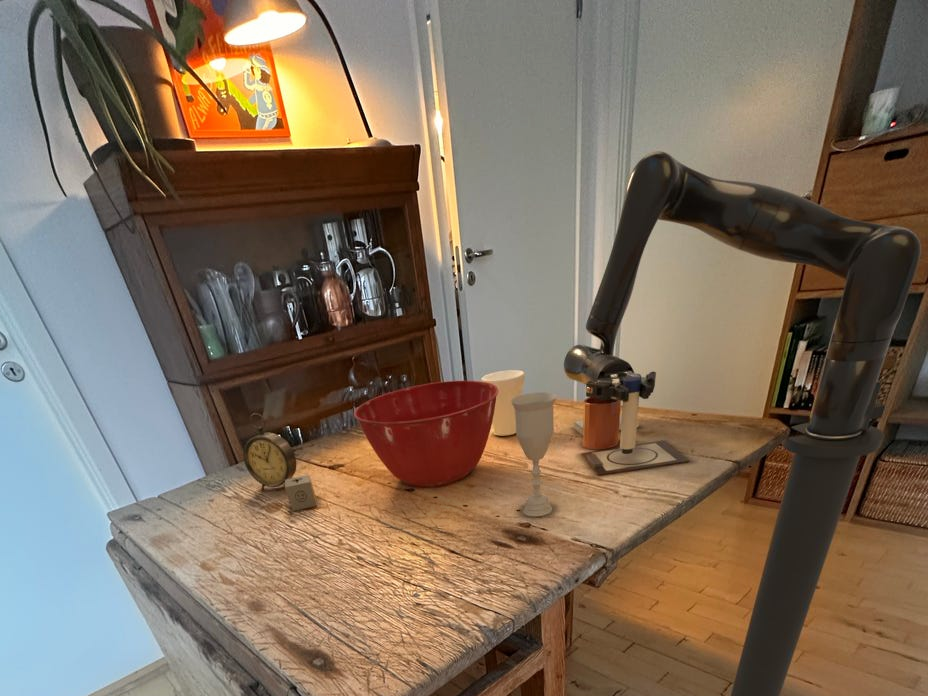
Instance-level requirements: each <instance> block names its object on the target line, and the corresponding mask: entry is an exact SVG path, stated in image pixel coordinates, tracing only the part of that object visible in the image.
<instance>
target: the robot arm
mask: <svg viewBox="0 0 928 696" xmlns="http://www.w3.org/2000/svg"><path fill="white" fill-rule="evenodd" d="M636 163H637V164H636V165H635V166H634V167H633V169H632V171H631V172H630V175H629V177H628V181H627V186H626V190H625V193H624V194H625V195H624V199H623V204H622V209H621V213H620V217H619V221H618V225H617V230H616V233H615V237H614V241H613V245H612V248H611V251H610V254H609V258H608V260H607V263H606V267H605V269H604V273H603V276H602V278H601V281H600V284H599V287H598V290H597V293H596V295H595V298H594V301H593V304H592V306H591V309H590V312H589V315H588V317H587V320H586V323H585V331H586V332H587V333H589V334H590V335H592V336H593V337H595V338H597V339H598V340H599V341H600V346H599V348H596V347H592V346H589V345H585V344H576V345H573V346H572V347H570V349H569V350H568V351H567V353H566V355H565V357H564V360H563V370H564V373H565V375H566V377H567V378H568V379H570V380H572V381H574V382H575V381H576V382H578V383H580V384H581V383H582V384H584V385H585V397H587V398H589V397H592V398H597V399H602V400H606V401H617V400H621V402H622V403H623V402H628V400H629V388H627V387H625V386H623V381H624V379H626V378H630V377H640V378H641V388H640V394H639V398H640V399H643V400H648V399H649V398H650V396H652V394H653V393H654V390H655V387H656V380H657V379H656V377H657V371H656V372H655V371H650V372H649V373H646V375H645V376H642V374H640V373H635V371H634V368H633V366H632V365H631V364H630V363H629V362H628V361H626V360H624V359H622V358H620V357H618V356H616V355H614V351H615V345H616V340H617V335H618V331H619V329H620V326H621V323H622V321H623V318H624V317H625V314H626V310H627V308H628V306H629V303H630V300H631V297H632V295H633V290H634V287H635V284H636V278H637V276H638V275H637V274H638V271H639V267H640V264H641V260H642V257H643V255H644V251H645V248H646V245H647V244H648V241H649V238H650V236H651V234H652V232H653V230H654V228H655V226H656V224H657V222H658V220H659V221H664V222H670V223H674V224H680V225H684V226H688V227H690V228H694V229H696V230H699V231H700V232H702V233H704V234H706V235H707V236H709V237H710V238H712V239H714V240H716V241H718V242H720V243H722V244H724V245H726V246H729V247H730V248H733V249H735V250H738V251H740V252H744V253H746V254H749V255H753V256H756V257H759V258H762V259H767V260H771V261H776V262H781V263H790V264H799V265H806V266H811V267H815V268H818V269H820V270H824V271H826V272H828V273H831V274H833V275H835V276H837V277H839V278H841V279H843V280H845V284H844V289H843V292H842V296H841V300H840V304H839V308H838V311H837V314H836V318H835V320H834V323H833V328H832V331H831V336H830V340H829V344H828V347H827V350H826V355H825V359H824V363H823V366H822V370H821V374H820V377H819V381H818V384H817V389H816V392H815V396H814V400H813V403H812V407H811V411H810V414H809V417H808V419H807V422H806V423H808V425H807V428H806V431H805V434H804V435H806V436H808V437H810V438H813V439H818V440H826V441H842V440H850V439H854V438H857V437H859V436H860V435H864V434H865V433H866V430H867V429H869V428H870V427H871V426H872V427H873V425H874V424H875V423H876V422H877V421H878V419H882V418H883V415H884V412H885V409H886V405H884V404H882V403H878V402H877V400H878V397H879V395H880V391H881V388H882V385H883V383H882V381H879V378H880V376H881V372H882V369H883V366H884V363H885V360H886V356H887V353H888V350H889V348H890V345H891V341H892V338H893V335H894V332H895V330H896V327H897V325H898V322H899V320H900V318H901V316H902V313H903V310H904V307H905V304H906V301H907V298H908V295H909V293H910V289H911V287H912V284H913V282H914V278H915V275H916V272H917V269H918V266H919V263H920V258H921V254H922V244H921V241H920V238H919V237H918V235H917V234H916V233H915V232H913V231H912V230H911V229H910V228H907V227H904V226H899V225H886V224H880V223H874V222H868V221H863V220H857V219H853V218H849V217H846V216H843V215H840V214H838V213H836V212H835V211H832V210H830V209H828V208H827V207H825V206H823V205H820V204H819V203H816V202H814V201H812V200H810V199H807V198H805V197H803V196H800V195H799V194H795V193H793V192H789V191H787V190H783V189H780V188H778V187H772V186H770V185H766V184H762V183H756V182H750V181H749V182H748V181H740V180H739V181H737V180H728V179H727V180H725V179H719V178H715V177H711V176H708V175H707V174H704V173H702V172H699V171H698V170H695V169H693V168H690V167H688V166H687V165H686V164H683V163H681V162H680V161H679V160H677V159H676V158H675V157H674V156H672V155H671V154H670V153H667V152H665V151H659V150H658V151H652V152H650V153H648V154H646V155H645V156H643V157H642V158H641V159H640V160H638V162H636Z"/></svg>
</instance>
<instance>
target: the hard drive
mask: <svg viewBox="0 0 928 696" xmlns="http://www.w3.org/2000/svg"><path fill="white" fill-rule="evenodd" d="M621 422H622V413H620V430H619V431H621ZM639 427H640V421H639V419H637V428H639ZM573 429H574V430H575V431H577V433H579V434H580V435H582V436H583V420H578V421H574V422H573Z"/></svg>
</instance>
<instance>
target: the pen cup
mask: <svg viewBox="0 0 928 696" xmlns="http://www.w3.org/2000/svg"><path fill="white" fill-rule="evenodd" d="M582 405H583V406H582V421H583V435H582V447H584V449H589V450H606V449H612V448H614V447H616V446H618V445H619V444H620V431H621V430H620V414H621V413H622V410H621V409H622V401H621V400H617V401H606V400H602V399H597V398H592V397H587V398H585V399H584V400H583V404H582Z"/></svg>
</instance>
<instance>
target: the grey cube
mask: <svg viewBox="0 0 928 696" xmlns="http://www.w3.org/2000/svg"><path fill="white" fill-rule="evenodd" d="M284 490H285V494H286V495H287V499H288V503H289V505H290V508H291V511H292V512H296V511H300V510H305V509H308V508H313V507H317V506H318V503H317V502H318V501H317V495H316V493H315V489H314V486H313V482H312V480H311V476H310V474H304V475H300V476H296V477H292V478H291V479H286V480H285V483H284Z"/></svg>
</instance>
